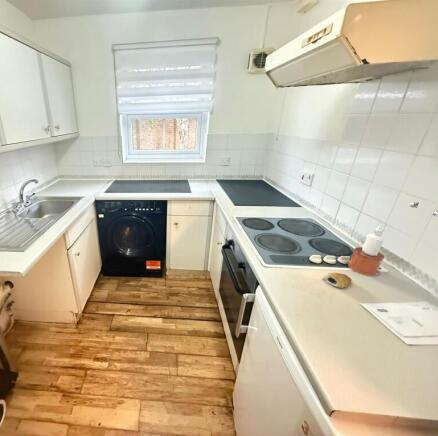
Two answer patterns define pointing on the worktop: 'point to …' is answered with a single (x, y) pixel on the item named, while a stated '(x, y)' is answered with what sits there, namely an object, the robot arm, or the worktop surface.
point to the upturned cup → (365, 262)
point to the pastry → (338, 280)
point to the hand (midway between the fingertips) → (422, 209)
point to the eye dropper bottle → (373, 242)
